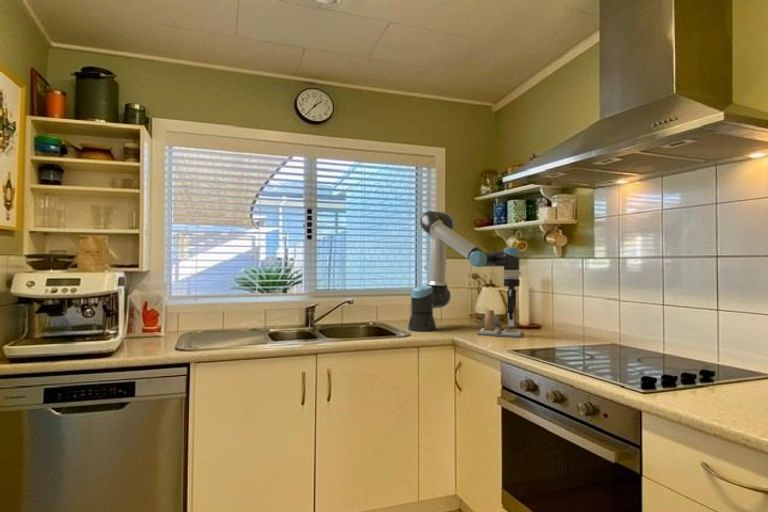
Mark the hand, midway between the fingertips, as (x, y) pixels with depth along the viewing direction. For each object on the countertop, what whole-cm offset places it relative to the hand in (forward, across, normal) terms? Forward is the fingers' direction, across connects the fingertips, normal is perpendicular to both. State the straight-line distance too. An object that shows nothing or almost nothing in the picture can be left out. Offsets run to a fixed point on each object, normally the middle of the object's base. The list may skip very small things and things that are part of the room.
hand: (512, 325), depth 219 cm
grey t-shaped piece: (+5, 0, +6) cm, 8 cm away
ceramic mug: (+5, +18, +13) cm, 23 cm away
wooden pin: (+2, 0, 0) cm, 2 cm away
